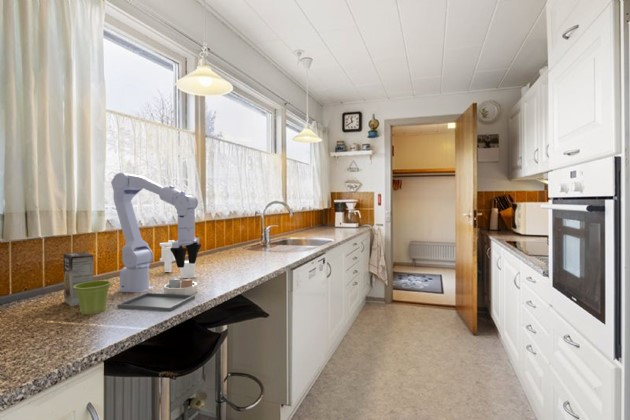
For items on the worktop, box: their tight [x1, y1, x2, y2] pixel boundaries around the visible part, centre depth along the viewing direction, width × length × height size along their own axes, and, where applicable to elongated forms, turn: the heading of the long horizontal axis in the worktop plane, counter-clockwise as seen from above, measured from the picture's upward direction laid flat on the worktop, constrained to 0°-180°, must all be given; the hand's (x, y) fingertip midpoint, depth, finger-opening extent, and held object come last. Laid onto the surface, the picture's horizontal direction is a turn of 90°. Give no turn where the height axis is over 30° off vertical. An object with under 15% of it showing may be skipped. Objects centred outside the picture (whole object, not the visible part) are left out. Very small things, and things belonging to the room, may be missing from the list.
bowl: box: [163, 280, 198, 295], centre depth 122 cm, size 11×11×3 cm
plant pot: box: [73, 279, 112, 315], centre depth 101 cm, size 9×9×9 cm
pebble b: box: [180, 278, 193, 288], centre depth 122 cm, size 4×4×4 cm
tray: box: [117, 292, 196, 312], centre depth 110 cm, size 18×14×2 cm
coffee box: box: [63, 251, 94, 308], centre depth 111 cm, size 9×6×16 cm
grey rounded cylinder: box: [168, 277, 181, 288], centre depth 123 cm, size 4×4×4 cm
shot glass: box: [179, 260, 197, 279], centre depth 149 cm, size 7×7×7 cm
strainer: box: [159, 239, 176, 273], centre depth 159 cm, size 7×7×15 cm
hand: (186, 265), depth 122 cm, fingers open, 7 cm apart
